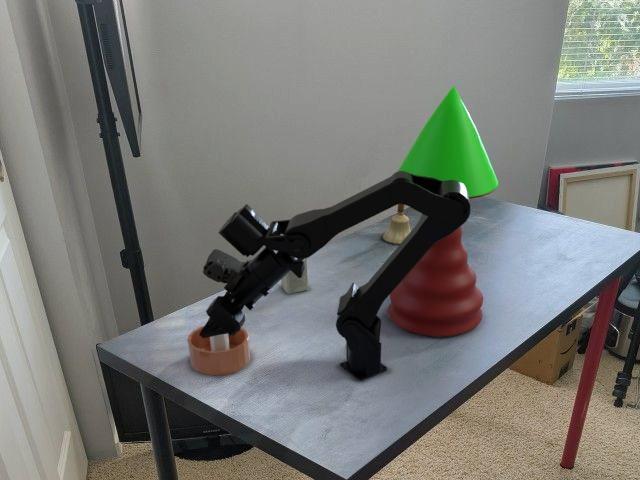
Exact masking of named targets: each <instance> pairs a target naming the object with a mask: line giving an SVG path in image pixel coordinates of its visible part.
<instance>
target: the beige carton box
mask: <svg viewBox="0 0 640 480" xmlns="http://www.w3.org/2000/svg"><path fill="white" fill-rule="evenodd" d="M307 260H308V258H306V259H305V260H304V266H305V269H304V272H303V275H302V277H301V278H298V277H297V276H296V275H295V274H294V273H293V272H292V271H290V272H289V273H288V274H286V275H285V276H284V277H283V278H282V279H281V280H280V281H281V282H280V283H281V288H282V289H283V291H285V293H286V294H287V295H290V294H296V293H300V292H304V291H308V290H309V279H308V277H309V276H308V266H307V265H308V262H307Z"/></svg>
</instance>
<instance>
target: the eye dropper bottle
mask: <svg viewBox="0 0 640 480" xmlns="http://www.w3.org/2000/svg"><path fill="white" fill-rule="evenodd" d="M215 299H216V298H213V299H212V302H213V301H214V300H215ZM208 320H209V318H208ZM208 320H207V321H208ZM210 345H211V351H224V350H229V349H230V347H229V337H228V334H222V335H217V336H212V337H210Z"/></svg>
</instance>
